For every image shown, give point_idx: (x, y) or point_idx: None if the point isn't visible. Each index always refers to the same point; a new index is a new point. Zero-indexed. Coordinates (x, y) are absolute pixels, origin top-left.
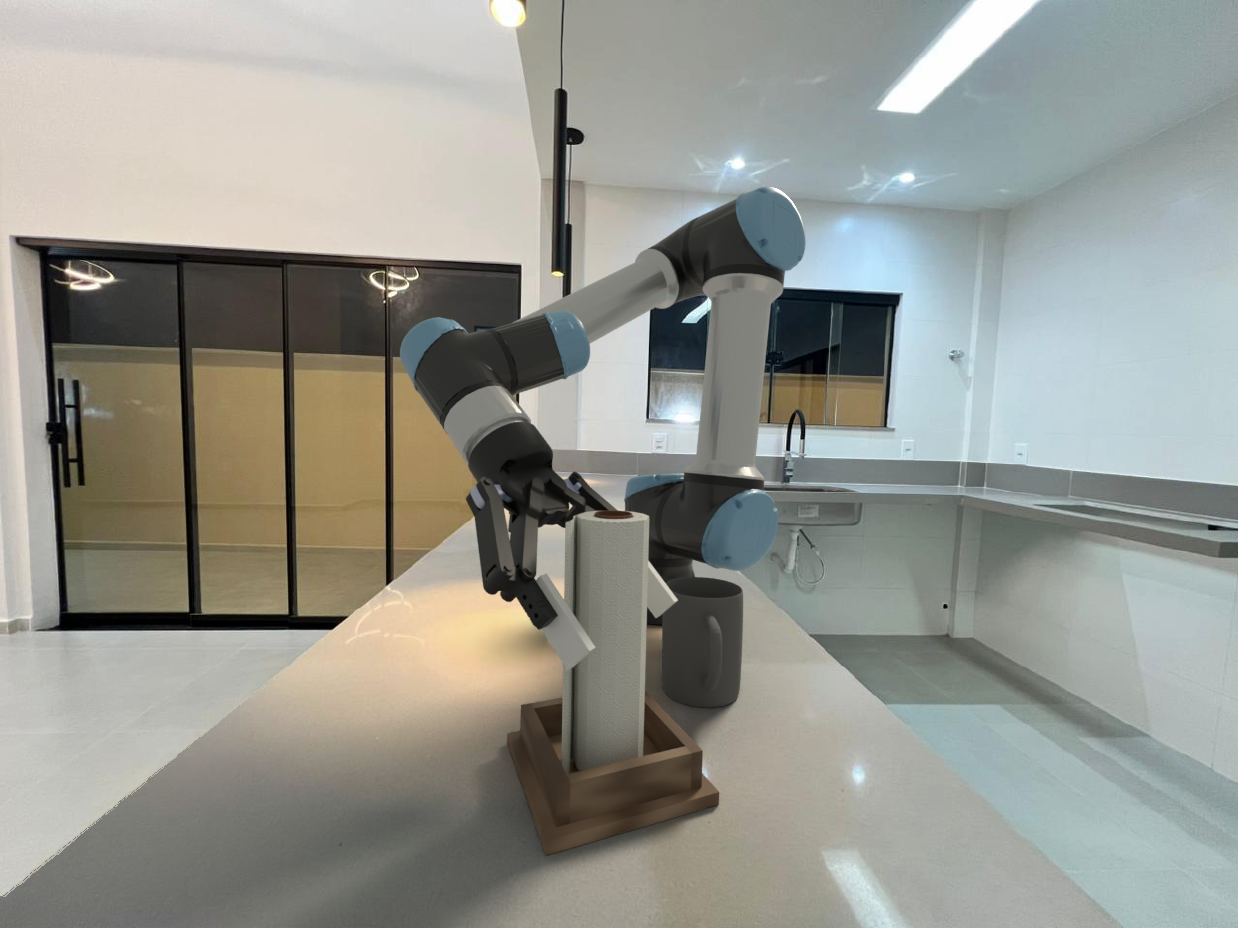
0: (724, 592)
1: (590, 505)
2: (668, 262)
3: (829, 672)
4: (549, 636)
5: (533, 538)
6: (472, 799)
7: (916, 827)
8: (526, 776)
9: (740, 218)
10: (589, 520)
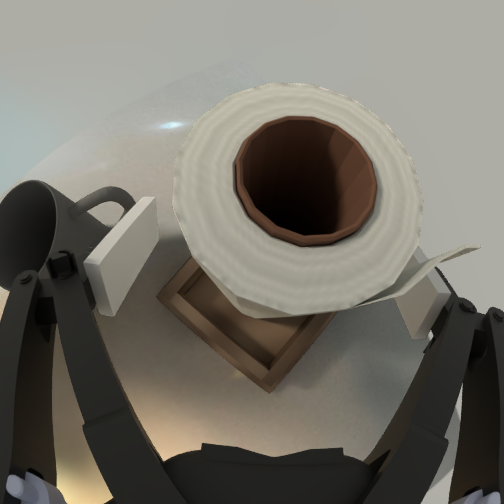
0: (3, 223)
1: (31, 422)
2: None
3: (35, 170)
4: None
5: (446, 361)
6: (341, 363)
7: (212, 98)
8: (313, 337)
9: None
10: (422, 208)
